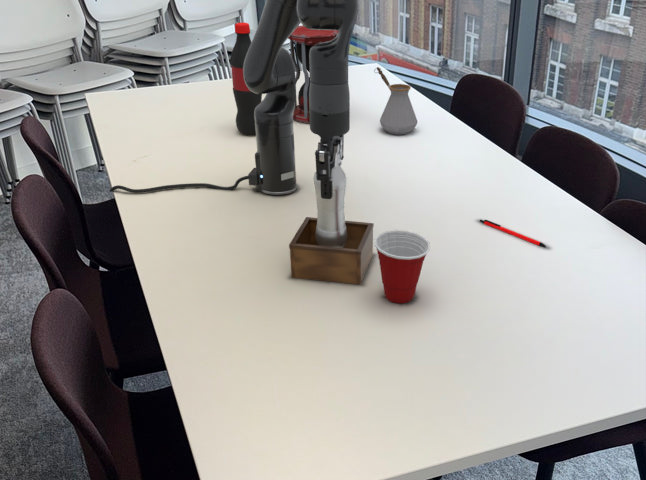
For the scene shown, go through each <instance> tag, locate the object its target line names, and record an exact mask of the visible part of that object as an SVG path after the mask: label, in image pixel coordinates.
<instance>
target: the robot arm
mask: <svg viewBox="0 0 646 480" xmlns="http://www.w3.org/2000/svg"><path fill="white" fill-rule="evenodd" d="M359 6H360V3H359V0H265V3H264V6H263V10H262V12H261V15H260V18H259V22H258V25H257V28H256V29H255V33H254V36H253V38H252V40H251V45H250V47H249V49H248V52H247V54H246V57H245V60H244V66H243V76H244V81H245V84H246V86H247V87H248V89H249V90H250V91H251V92H253V93H256V94H262V95H265V97H264V98H263V99H262V101H261V103H260V104H258V105H257V106H256V108H255V110H254V118H255V130H256V135H255V141H256V152H255V153H254V163H255V167H253V168H252V170H251V171H249V173H248V174H247V175H245V176H244V175H243V176H241V177H239V178H238V179H237V180H235V183H234V184H233V185H230V186H221V185H216V184H211V183H205V182H204V183H203V182H200V183H198V182H197V183H194V182H193V183H178V184H168V185H161V186H160V185H159V186H155V187H149V188H140V189H139V188H138V189H137V188H135V189H134V188H130V187H127V186H123V185H114V186H112V187H111V188H110V189H109V193H113V192H114V191H116V190H122V191H125V192H129V193H132V194H142V193H151V192H156V191H162V190H169V189H170V190H171V189H180V188H181V189H182V188H201V187H202V188H210V189H215V190H222V191H232V190H235V189H236V188H238V187H239V184H240V183H241V182H243V181H246V180H248V186H256V188H257V192H261V193H264V194H266V195H270V196H284V195H289V194H292V193H294V192H295V191H296V190H297V189H298V185H297V174H296V173H297V172H296V170H297V169H296V152H295V130H294V119H293V112H294V109H295V78H296V69H295V67H294V63H293V60H292V57H291V53H290V52H289V51H288V50H287V49H286V48H285V47H283V45H284V44H285V42H286V41H287V40H289V39H288V37H289V36H290V35H291V34H292V33H293V31H294V30H295V29H296V28H297V27H298V26H300V25H301V26H304V27H306V28H307V29H311V30H335V29H336V31H338V35H337V36H336V37H335V38H334V39H333V40H331V41H328V42H324V43H319V44H316V45H314V46H312V47H311V49H310V52H309V69H310V73H309V77H310V86H309V114H310V123H309V130H310V131H311V133H312V134H314V135H317V136H318V137H319V138H320V141H318V143H317V149H316V150H315V151H314V156H315V157H314V159H315V172H316V178H317V180H319V181H321V198H323V199H331V198H332V197H333V185H332V179H333V170H334V169H335V168H336V163H337V154H338V153H340V163H339V166H340V167H342V164H343V162H342V161H343V160H344V157H345V156H344V144H345V143H344V142H345V140H344V138H345V137H344V136H345V135H346V134H347V133H349V132H350V127H351V126H350V123H351V122H350V120H351V119H350V118H351V117H350V114H351V113H350V112H351V111H350V110H351V109H350V108H351V107H350V106H351V105H350V103H351V101H350V99H351V97H350V95H351V94H350V87H349V86H350V85H349V55H350V48H351V47H350V46H351V41H352V36H353V33H354V30H355V25H356V22H357V18H358V13H359ZM330 162H332V163H331V164H330ZM323 170H326V174H323Z"/></svg>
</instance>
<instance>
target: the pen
mask: <svg viewBox="0 0 646 480" xmlns="http://www.w3.org/2000/svg"><path fill="white" fill-rule="evenodd" d="M479 222H481V223H483V225H486V226H489V227H491V228H494V229H496V230H498V231H500V232H503V233H505V234H509V235H511V236H513V237H515V238H519V239H521V240H524V241H527V242H529V243H531V244H533V245H536V246H539V247H543V248H547V245H546V244H544V243H543V242H542V241H539V240H536V239H534V238H531V237H529V236H527V235H524V234H521V233H519V232H516V231H513V230H512V229H509V228H507V227H504V226H502V225H501V224H498V223H496V222H493V221H490V220H488V219H484V220H483V219H479Z"/></svg>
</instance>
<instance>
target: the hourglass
mask: <svg viewBox="0 0 646 480" xmlns="http://www.w3.org/2000/svg"><path fill="white" fill-rule="evenodd" d="M337 35H338V31H336V29H335V30H311V29H307V28H306V27H304V26H303V25H299V26H298V27H297V28H296V29H295V30H294V31H293V33H292V34H291V35H290V36H289V37H288V39H287V40H289V44H290V46H289V47H290V55H291V57H292V60H293V63H294V67H295V109H294V112H293V121H296V122H300V123H304V124H310V114H309V86H310V69H309V52H310V49H311V47H312V46H314V45H316V44H319V43H324V42H328V41H331V40H333V39H334V38H335V37H336V36H337ZM295 53H296V57H297V60H298V61H299V63H300V64H301V68H302V73H303V74H304V75H303V76H304V82H303V83H302V85H301V86H300V88H299V90H298V94H297V82H298V81H299V79H300V77H301V74H302V73H301V69H300V66H299V65H298V63H297V61H296V58H295ZM297 96H298V97H297ZM297 100H298V101H297ZM297 102H298V103H297Z"/></svg>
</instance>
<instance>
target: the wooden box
mask: <svg viewBox="0 0 646 480" xmlns="http://www.w3.org/2000/svg"><path fill="white" fill-rule="evenodd" d="M345 225H346V228H347V235H348V237H347V242H346V244H345V246H344V247H343V248H338V247H327V246H319V245H318V244H317V241H316V237H315V233H316V226H317V217H312V216H305V218H304V220H303V221H302V223H301V225H300V226H299V228H298V230H297V231H296V233H295V234H294V236H293V238H292V239H291V241H290V243H289V244H288V249H289V257H290V258H289V259H290V273H291V278H292V279H293V278H294V279H295V278H296V279H303V280H313V281H324V282H332V283H343V284H353V285H361V284H362V282H363V280H364V277H365V275H366V272H367V270H368V268H369V265H370V263H371V261H372V258H373V255H374V226H375V225H374V223H373V222H366V221H365V222H364V221H355V220H345Z"/></svg>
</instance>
